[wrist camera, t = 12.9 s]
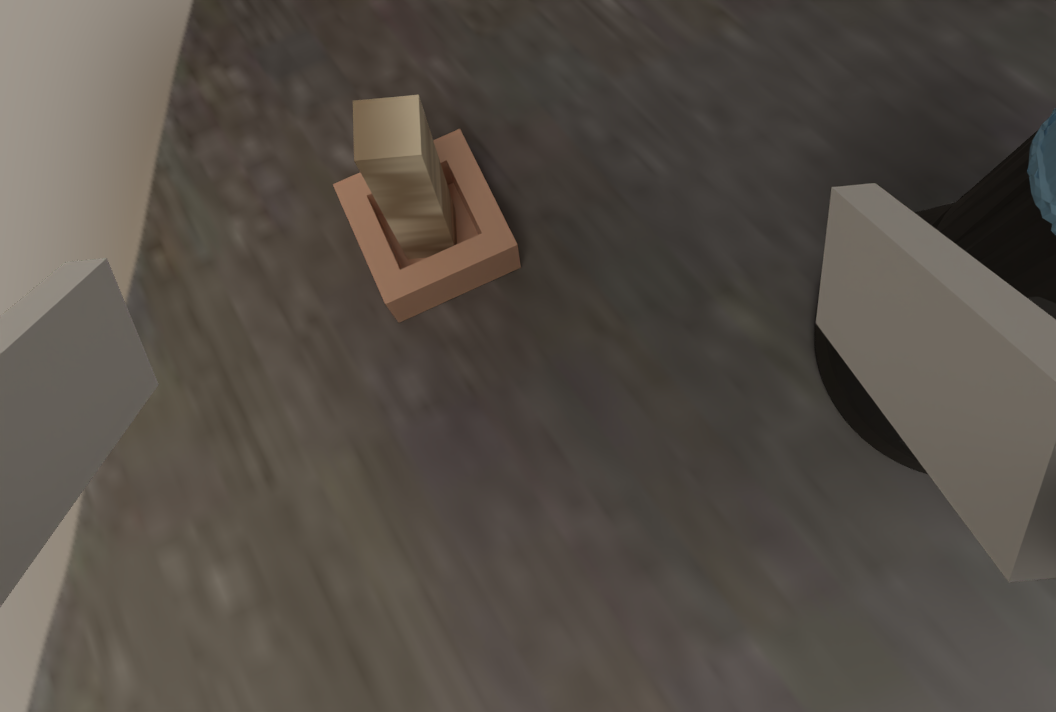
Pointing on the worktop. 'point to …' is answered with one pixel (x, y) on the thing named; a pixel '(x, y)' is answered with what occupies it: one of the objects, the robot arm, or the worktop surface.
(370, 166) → the beige tall square post
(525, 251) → the worktop surface
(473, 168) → the orange-brown square frame
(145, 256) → the worktop surface
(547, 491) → the worktop surface
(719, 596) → the worktop surface
